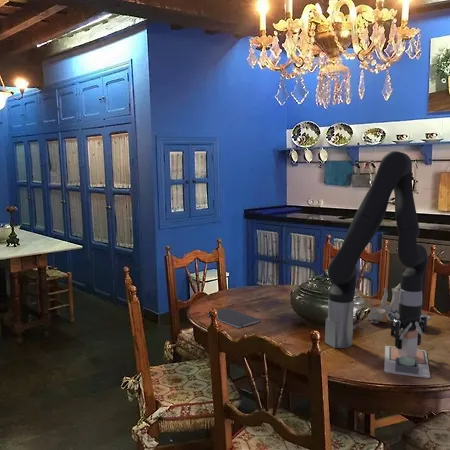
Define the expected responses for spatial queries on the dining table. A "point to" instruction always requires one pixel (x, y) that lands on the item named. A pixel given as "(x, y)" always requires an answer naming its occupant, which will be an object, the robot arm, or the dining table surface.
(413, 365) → the button
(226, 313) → the notebook
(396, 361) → the picture board
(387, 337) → the dining table surface
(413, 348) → the white and pink block
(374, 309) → the chinaware
